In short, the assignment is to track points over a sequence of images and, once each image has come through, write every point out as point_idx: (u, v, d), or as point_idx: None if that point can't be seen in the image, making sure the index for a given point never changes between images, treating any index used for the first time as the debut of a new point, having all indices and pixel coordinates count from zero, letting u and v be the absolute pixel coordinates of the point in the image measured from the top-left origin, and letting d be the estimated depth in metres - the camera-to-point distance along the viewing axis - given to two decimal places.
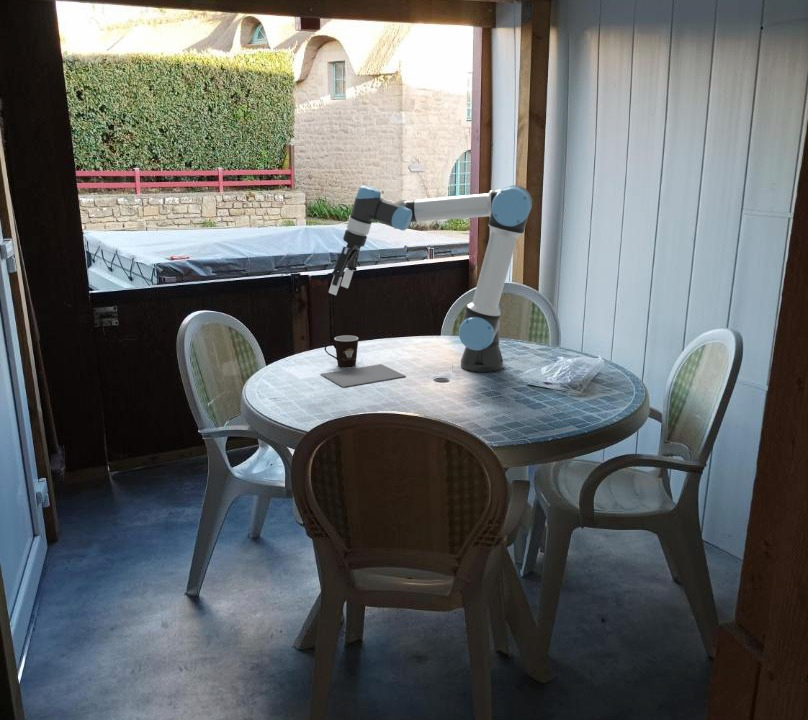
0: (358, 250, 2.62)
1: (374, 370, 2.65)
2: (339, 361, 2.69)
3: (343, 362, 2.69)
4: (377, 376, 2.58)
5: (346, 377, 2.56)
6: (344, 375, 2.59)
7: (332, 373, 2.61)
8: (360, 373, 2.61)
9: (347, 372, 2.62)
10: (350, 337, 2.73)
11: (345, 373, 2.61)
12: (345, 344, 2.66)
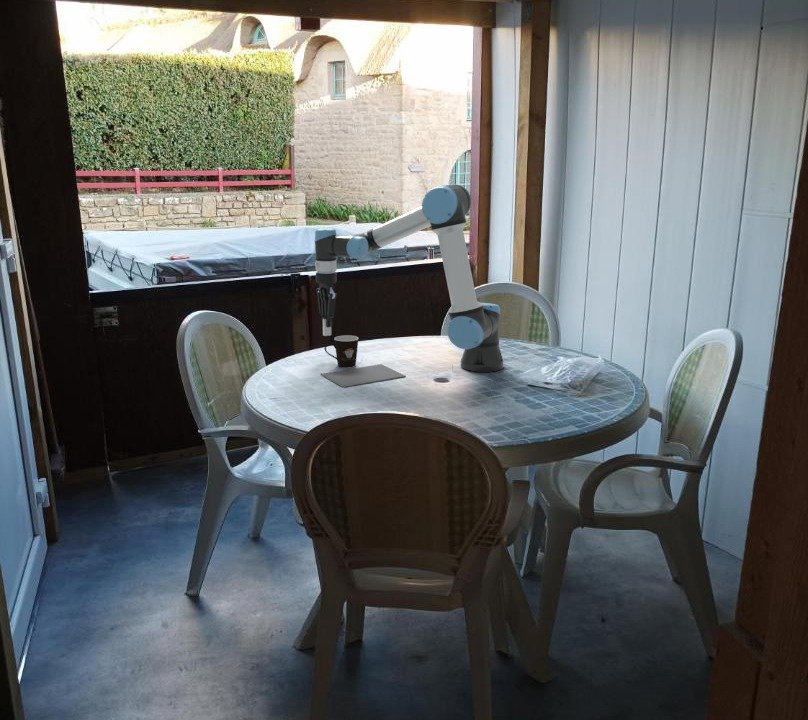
0: None
1: (374, 370, 2.65)
2: (339, 361, 2.69)
3: (343, 362, 2.69)
4: (377, 376, 2.58)
5: (346, 377, 2.56)
6: (344, 375, 2.59)
7: (332, 373, 2.61)
8: (360, 373, 2.61)
9: (347, 372, 2.62)
10: (350, 337, 2.73)
11: (345, 373, 2.61)
12: (345, 344, 2.66)
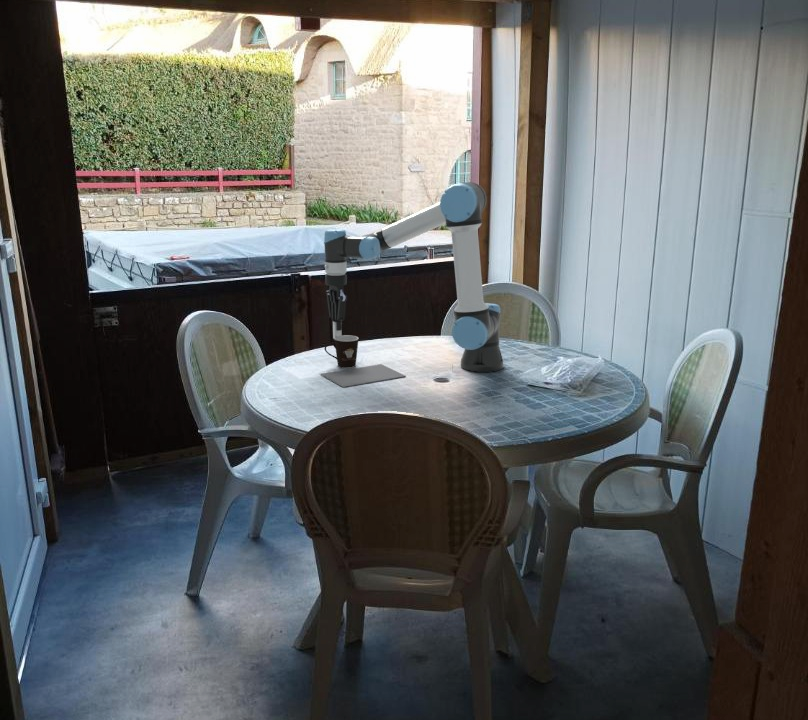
0: None
1: (374, 370, 2.65)
2: (339, 361, 2.69)
3: (343, 362, 2.69)
4: (377, 376, 2.58)
5: (346, 377, 2.56)
6: (344, 375, 2.59)
7: (332, 373, 2.61)
8: (360, 373, 2.61)
9: (347, 372, 2.62)
10: (350, 337, 2.73)
11: (345, 373, 2.61)
12: (345, 344, 2.66)
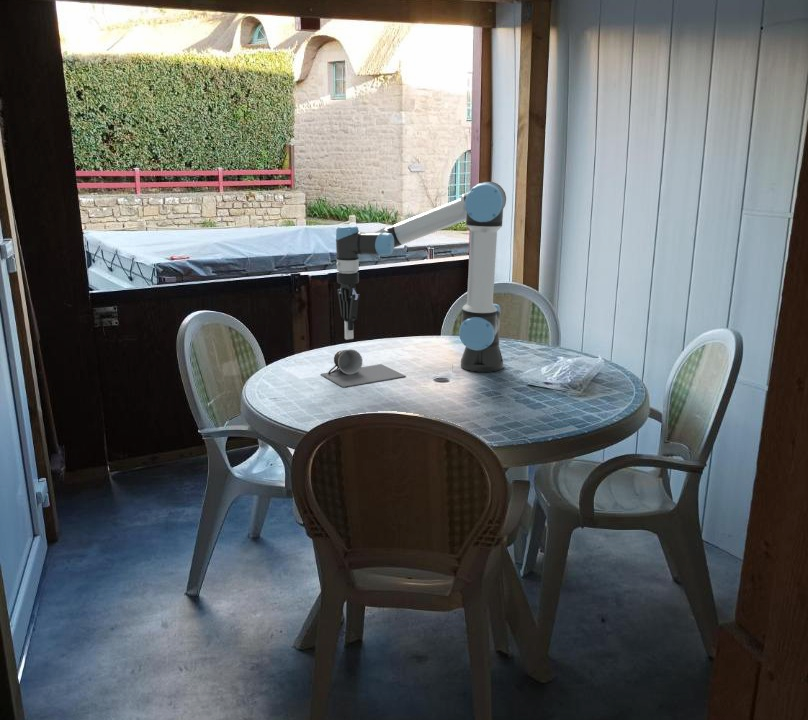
0: None
1: (374, 370, 2.65)
2: None
3: None
4: (377, 376, 2.58)
5: (346, 377, 2.56)
6: (344, 375, 2.59)
7: (332, 373, 2.61)
8: (360, 373, 2.61)
9: None
10: (351, 350, 2.59)
11: None
12: None
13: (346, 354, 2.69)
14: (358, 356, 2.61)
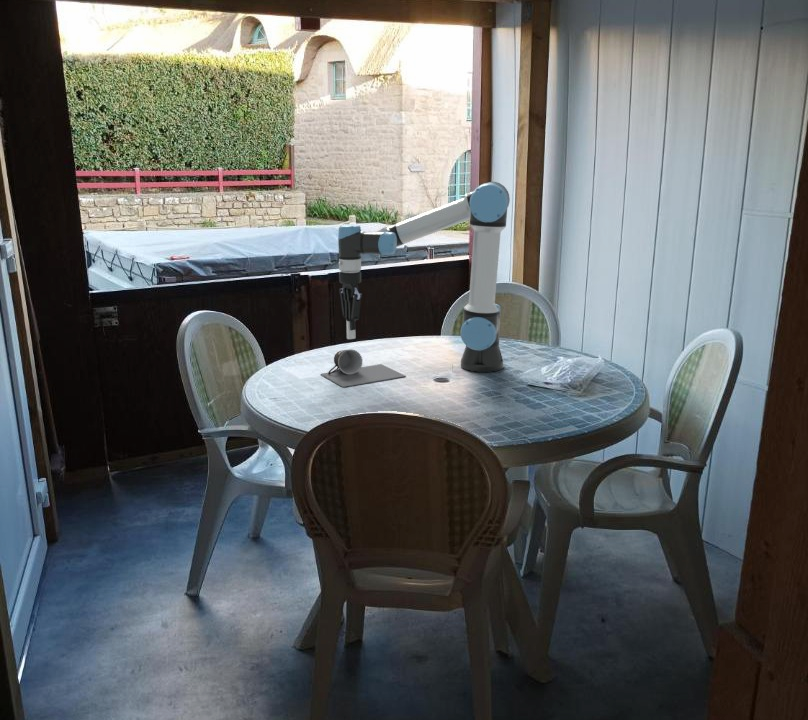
0: None
1: (374, 370, 2.65)
2: None
3: None
4: (377, 376, 2.58)
5: (346, 377, 2.56)
6: (344, 375, 2.59)
7: (332, 373, 2.61)
8: (360, 373, 2.61)
9: None
10: (351, 350, 2.59)
11: None
12: None
13: (346, 354, 2.69)
14: (358, 356, 2.61)
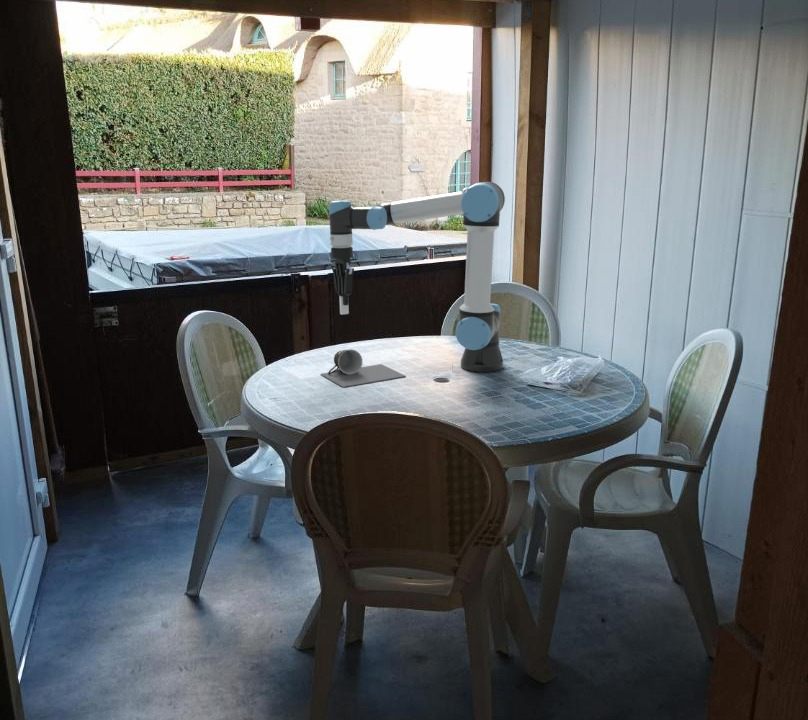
0: None
1: (374, 370, 2.65)
2: None
3: None
4: (377, 376, 2.58)
5: (346, 377, 2.56)
6: (344, 375, 2.59)
7: (332, 373, 2.61)
8: (360, 373, 2.61)
9: None
10: (351, 350, 2.59)
11: None
12: None
13: (346, 354, 2.69)
14: (358, 356, 2.61)
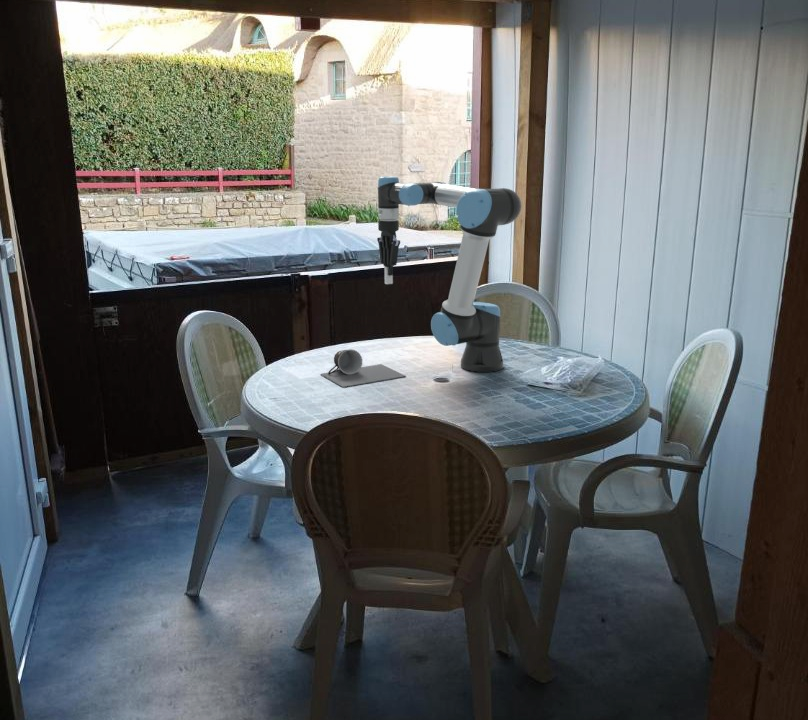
0: None
1: (374, 370, 2.65)
2: None
3: None
4: (377, 376, 2.58)
5: (346, 377, 2.56)
6: (344, 375, 2.59)
7: (332, 373, 2.61)
8: (360, 373, 2.61)
9: None
10: (351, 350, 2.59)
11: None
12: None
13: (346, 354, 2.69)
14: (358, 356, 2.61)
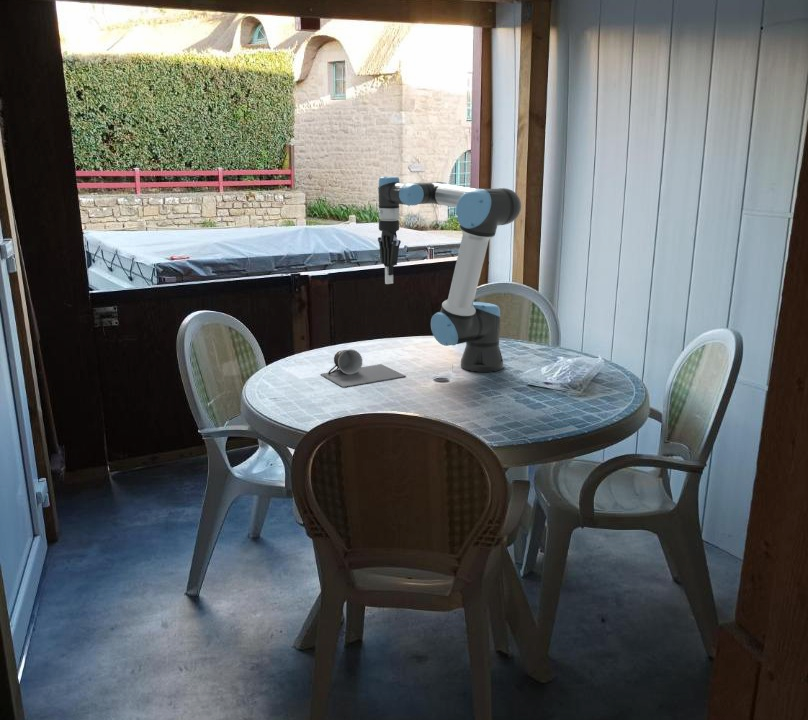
0: None
1: (374, 370, 2.65)
2: None
3: None
4: (377, 376, 2.58)
5: (346, 377, 2.56)
6: (344, 375, 2.59)
7: (332, 373, 2.61)
8: (360, 373, 2.61)
9: None
10: (351, 350, 2.59)
11: None
12: None
13: (346, 354, 2.69)
14: (358, 356, 2.61)
